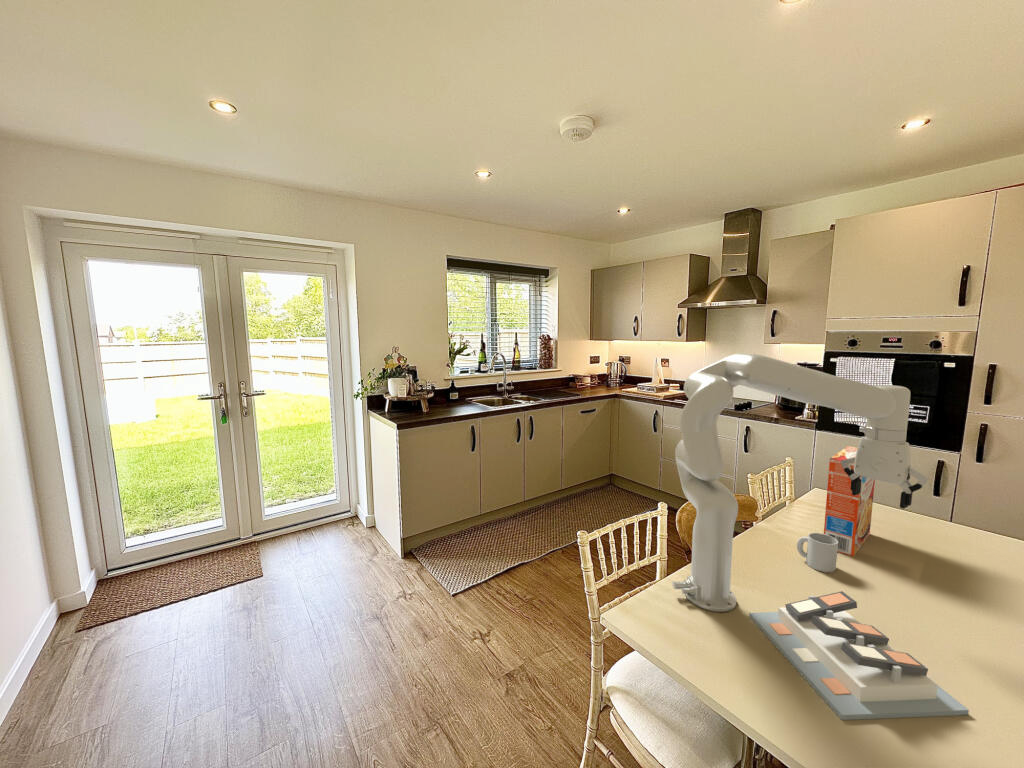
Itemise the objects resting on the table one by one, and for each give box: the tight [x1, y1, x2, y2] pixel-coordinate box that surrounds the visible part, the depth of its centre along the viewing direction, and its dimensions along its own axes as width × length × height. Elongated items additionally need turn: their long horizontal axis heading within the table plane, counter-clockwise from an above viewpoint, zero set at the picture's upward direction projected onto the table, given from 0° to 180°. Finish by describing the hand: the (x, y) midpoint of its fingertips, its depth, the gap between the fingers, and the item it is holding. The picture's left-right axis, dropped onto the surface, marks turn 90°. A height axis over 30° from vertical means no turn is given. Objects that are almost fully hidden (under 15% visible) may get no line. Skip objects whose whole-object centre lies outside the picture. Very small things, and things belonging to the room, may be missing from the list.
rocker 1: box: [785, 590, 858, 621], centre depth 97 cm, size 14×4×2 cm, turn 92°
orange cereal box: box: [823, 445, 876, 557], centre depth 139 cm, size 23×8×30 cm, turn 130°
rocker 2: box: [811, 616, 890, 645], centre depth 89 cm, size 14×4×2 cm, turn 92°
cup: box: [796, 532, 838, 573], centre depth 126 cm, size 7×10×9 cm
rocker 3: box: [841, 642, 929, 676], centre depth 81 cm, size 14×4×2 cm, turn 92°
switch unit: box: [748, 595, 970, 721], centre depth 89 cm, size 24×28×7 cm
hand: (879, 500), depth 105 cm, fingers open, 9 cm apart
